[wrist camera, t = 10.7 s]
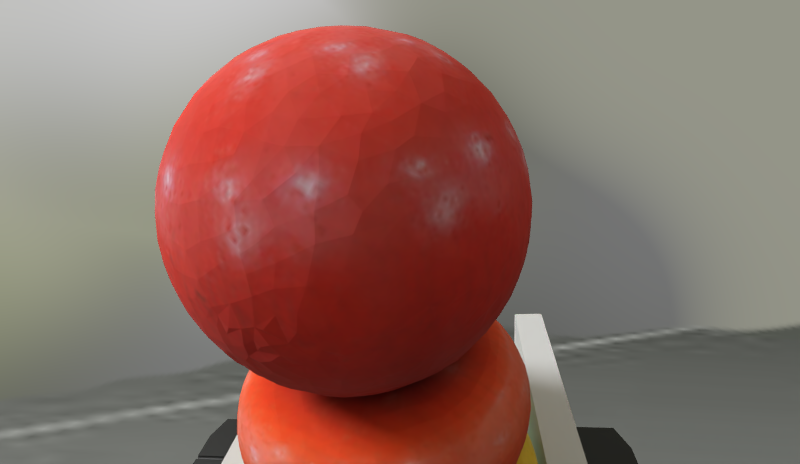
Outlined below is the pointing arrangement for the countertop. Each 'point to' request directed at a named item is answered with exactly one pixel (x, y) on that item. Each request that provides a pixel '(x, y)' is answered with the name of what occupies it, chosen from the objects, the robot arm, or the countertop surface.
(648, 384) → the countertop surface
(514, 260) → the stacking toy
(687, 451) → the countertop surface
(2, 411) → the countertop surface
